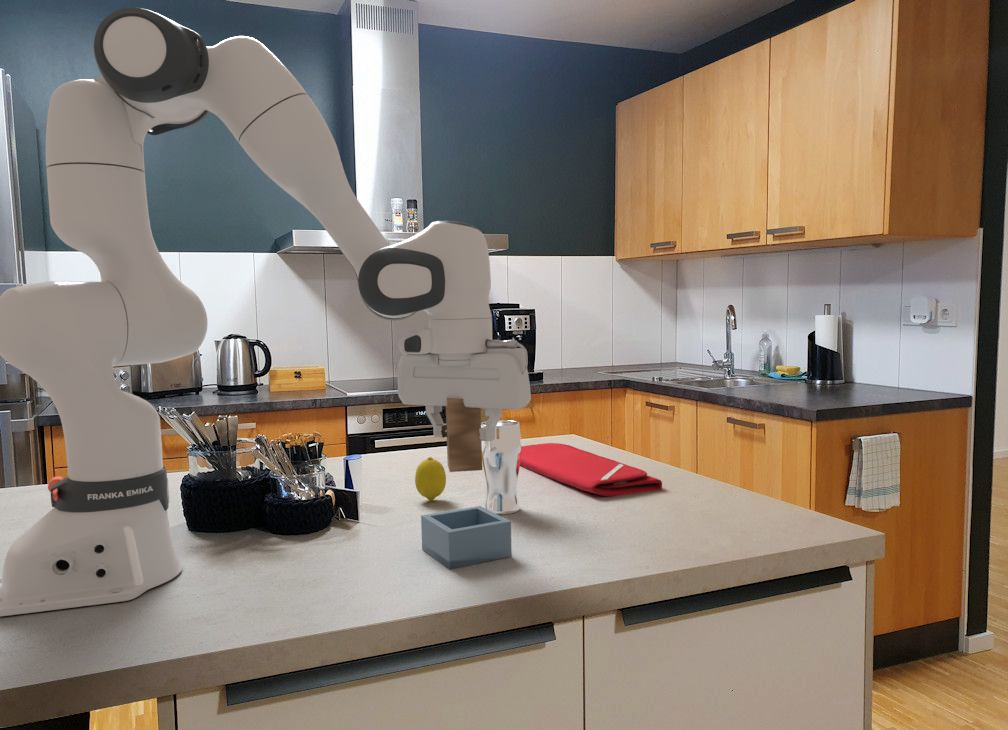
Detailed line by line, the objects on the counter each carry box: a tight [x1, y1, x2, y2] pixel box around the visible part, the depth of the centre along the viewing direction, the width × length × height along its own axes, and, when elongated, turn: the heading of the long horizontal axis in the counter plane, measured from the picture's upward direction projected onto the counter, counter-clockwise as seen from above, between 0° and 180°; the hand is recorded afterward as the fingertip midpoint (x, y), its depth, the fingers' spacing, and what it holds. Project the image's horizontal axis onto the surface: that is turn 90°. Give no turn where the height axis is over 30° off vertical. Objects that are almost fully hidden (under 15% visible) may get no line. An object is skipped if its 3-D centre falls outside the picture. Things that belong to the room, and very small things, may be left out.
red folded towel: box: [520, 442, 663, 498], centre depth 157 cm, size 16×41×4 cm, turn 23°
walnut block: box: [445, 398, 483, 473], centre depth 106 cm, size 4×4×10 cm
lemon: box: [414, 456, 447, 502], centre depth 136 cm, size 6×6×8 cm
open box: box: [420, 505, 512, 570], centre depth 107 cm, size 10×10×5 cm
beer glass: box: [481, 419, 522, 515], centre depth 129 cm, size 7×7×15 cm
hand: (463, 438), depth 106 cm, fingers closed on walnut block, 6 cm apart
